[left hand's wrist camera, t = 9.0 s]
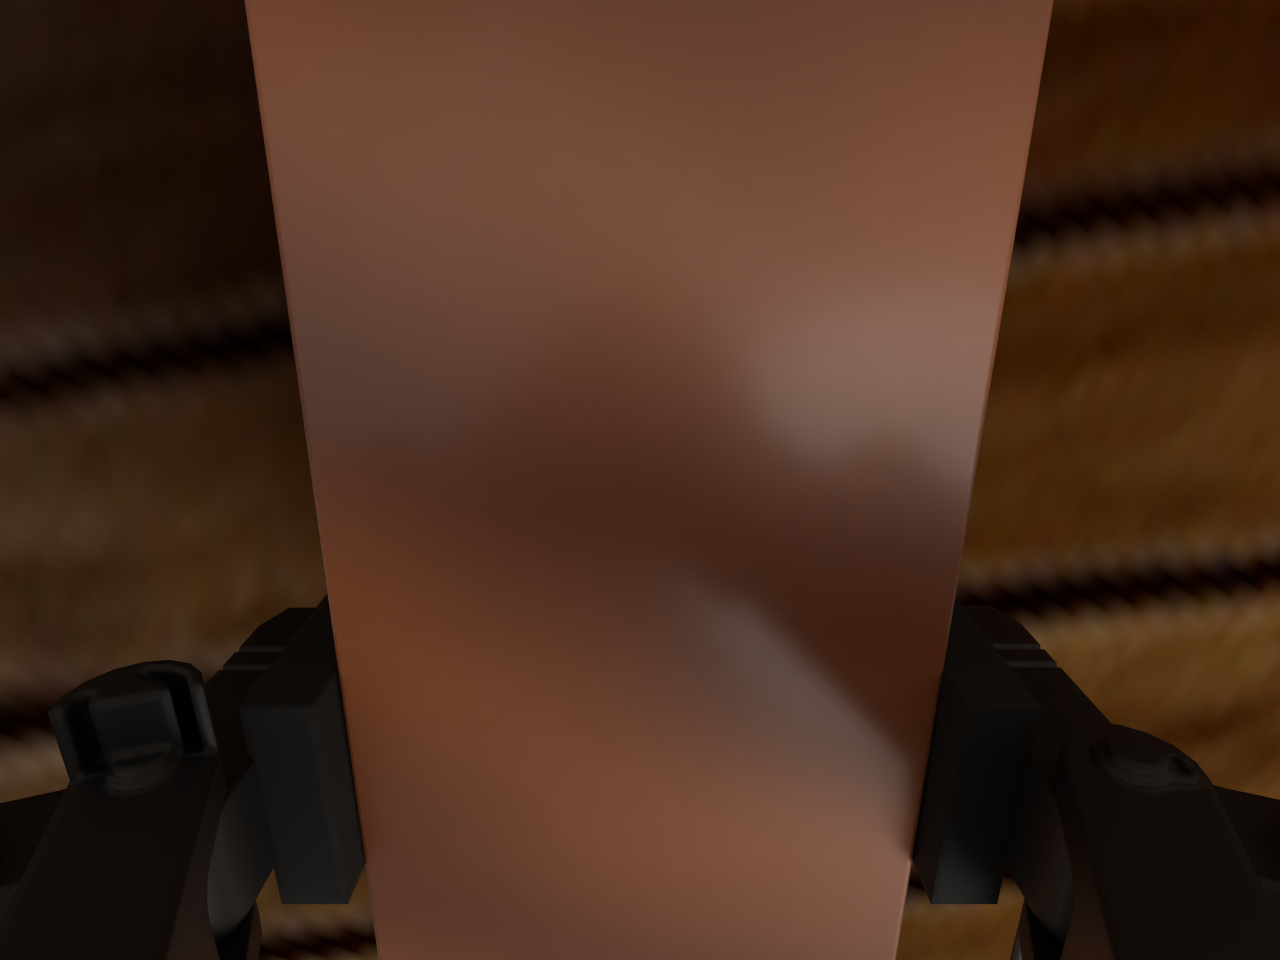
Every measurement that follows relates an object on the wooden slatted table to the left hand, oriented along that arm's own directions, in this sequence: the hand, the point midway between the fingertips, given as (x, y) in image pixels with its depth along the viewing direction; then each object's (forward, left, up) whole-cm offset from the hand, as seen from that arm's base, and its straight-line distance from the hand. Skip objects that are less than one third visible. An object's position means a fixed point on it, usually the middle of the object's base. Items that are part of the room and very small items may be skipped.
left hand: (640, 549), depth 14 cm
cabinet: (+1, +3, -3) cm, 4 cm away
